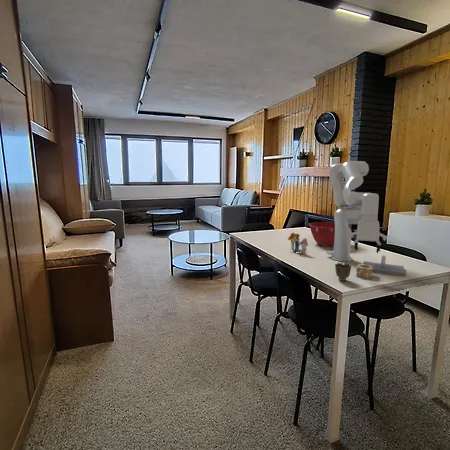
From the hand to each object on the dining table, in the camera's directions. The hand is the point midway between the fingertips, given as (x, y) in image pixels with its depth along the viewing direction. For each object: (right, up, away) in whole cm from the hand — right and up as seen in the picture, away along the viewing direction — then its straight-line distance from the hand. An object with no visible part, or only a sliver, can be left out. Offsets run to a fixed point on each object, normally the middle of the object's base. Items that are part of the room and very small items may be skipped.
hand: (366, 251), depth 148 cm
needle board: (+15, -11, +12) cm, 23 cm away
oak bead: (0, -13, +3) cm, 13 cm away
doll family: (-24, -5, +51) cm, 57 cm away
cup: (-14, -14, -4) cm, 20 cm away
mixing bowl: (+6, -2, +72) cm, 73 cm away
